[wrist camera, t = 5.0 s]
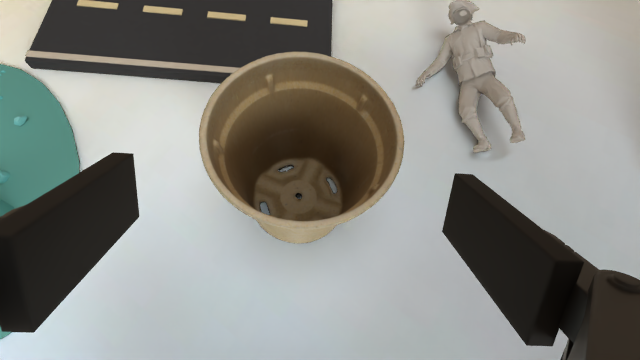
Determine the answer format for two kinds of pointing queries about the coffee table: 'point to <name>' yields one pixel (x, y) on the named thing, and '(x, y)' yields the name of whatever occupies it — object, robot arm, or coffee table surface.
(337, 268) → the coffee table surface
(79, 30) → the road
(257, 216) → the flower pot
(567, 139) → the coffee table surface
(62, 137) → the diorama
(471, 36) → the soldier figure
